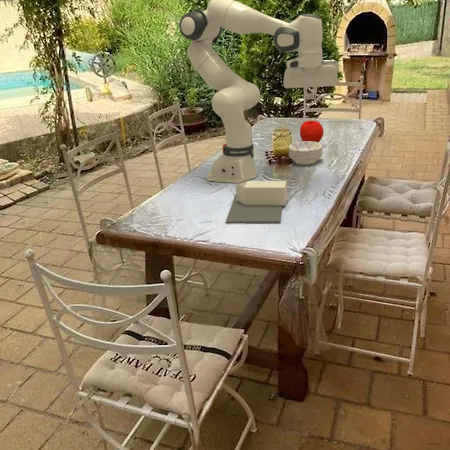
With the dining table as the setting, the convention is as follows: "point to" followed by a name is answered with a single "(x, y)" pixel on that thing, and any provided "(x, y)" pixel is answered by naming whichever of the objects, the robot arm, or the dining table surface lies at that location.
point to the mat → (253, 213)
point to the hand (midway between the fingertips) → (310, 98)
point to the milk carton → (262, 192)
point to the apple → (311, 131)
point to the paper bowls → (305, 152)
